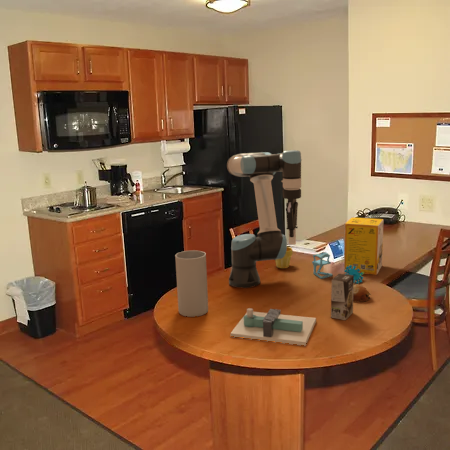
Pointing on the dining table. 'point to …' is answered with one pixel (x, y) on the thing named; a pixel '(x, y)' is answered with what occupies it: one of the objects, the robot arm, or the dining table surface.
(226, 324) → the dining table surface
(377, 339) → the dining table surface
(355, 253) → the packaging box
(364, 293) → the bread roll
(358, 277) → the gear
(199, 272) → the cylinder vase
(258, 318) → the latch bar
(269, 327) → the bar
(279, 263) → the plant pot
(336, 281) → the coffee box
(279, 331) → the base plate
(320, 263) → the chair
